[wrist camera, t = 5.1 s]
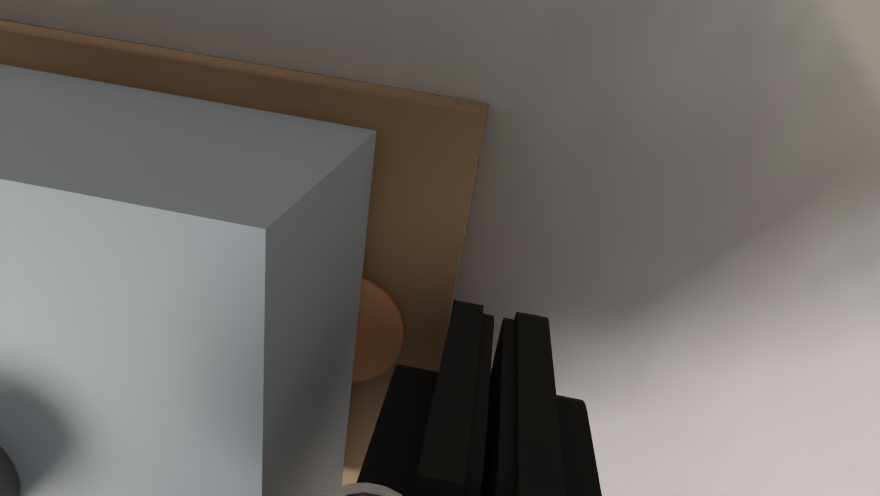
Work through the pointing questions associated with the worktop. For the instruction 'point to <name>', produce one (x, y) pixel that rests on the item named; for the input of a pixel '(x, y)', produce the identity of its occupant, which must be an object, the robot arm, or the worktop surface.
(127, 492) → the cover
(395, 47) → the worktop surface
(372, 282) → the pattern board
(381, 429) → the robot arm
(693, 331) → the worktop surface
